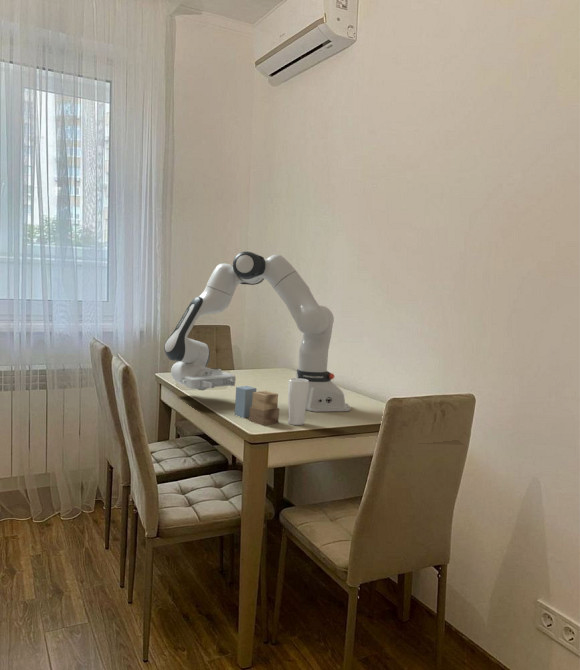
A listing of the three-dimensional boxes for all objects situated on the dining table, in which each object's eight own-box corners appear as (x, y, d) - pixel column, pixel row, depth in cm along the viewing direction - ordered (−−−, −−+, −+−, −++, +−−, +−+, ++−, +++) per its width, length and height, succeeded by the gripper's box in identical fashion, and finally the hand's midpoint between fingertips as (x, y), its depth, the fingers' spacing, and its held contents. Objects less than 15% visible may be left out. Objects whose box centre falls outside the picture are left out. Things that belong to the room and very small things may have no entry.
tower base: (264, 418, 201) (265, 404, 200) (278, 423, 196) (279, 408, 195) (249, 421, 196) (249, 406, 195) (262, 425, 191) (263, 410, 190)
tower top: (265, 405, 199) (265, 390, 199) (277, 408, 195) (278, 393, 195) (252, 406, 195) (252, 392, 195) (264, 410, 191) (265, 395, 191)
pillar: (245, 413, 206) (247, 385, 205) (254, 416, 203) (256, 388, 202) (234, 415, 203) (236, 387, 202) (243, 418, 199) (245, 389, 198)
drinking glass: (283, 424, 194) (285, 380, 192) (290, 420, 200) (293, 377, 199) (302, 427, 191) (305, 382, 190) (308, 423, 198) (311, 379, 196)
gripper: (178, 371, 213) (200, 378, 203) (222, 368, 227) (245, 374, 217) (177, 388, 213) (199, 395, 203) (221, 384, 228) (244, 391, 218)
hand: (223, 384), depth 210 cm, fingers open, 8 cm apart
